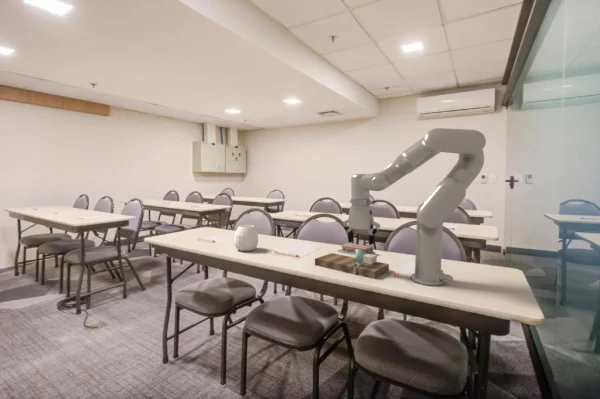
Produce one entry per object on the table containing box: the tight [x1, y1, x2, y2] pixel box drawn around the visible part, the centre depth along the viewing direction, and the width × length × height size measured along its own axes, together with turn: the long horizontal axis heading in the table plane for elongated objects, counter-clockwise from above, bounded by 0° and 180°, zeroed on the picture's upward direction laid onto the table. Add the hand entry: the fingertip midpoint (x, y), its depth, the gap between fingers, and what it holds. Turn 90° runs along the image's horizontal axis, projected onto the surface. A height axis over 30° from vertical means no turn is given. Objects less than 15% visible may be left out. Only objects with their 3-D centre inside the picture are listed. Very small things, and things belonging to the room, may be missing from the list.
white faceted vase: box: [234, 224, 259, 252], centre depth 170 cm, size 13×13×14 cm
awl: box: [354, 249, 363, 267], centre depth 130 cm, size 3×3×10 cm
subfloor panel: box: [314, 252, 390, 280], centre depth 137 cm, size 30×15×3 cm, turn 51°
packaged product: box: [337, 242, 376, 256], centre depth 165 cm, size 18×5×10 cm
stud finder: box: [362, 253, 378, 264], centre depth 135 cm, size 6×5×3 cm
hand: (360, 242), depth 129 cm, fingers open, 9 cm apart
